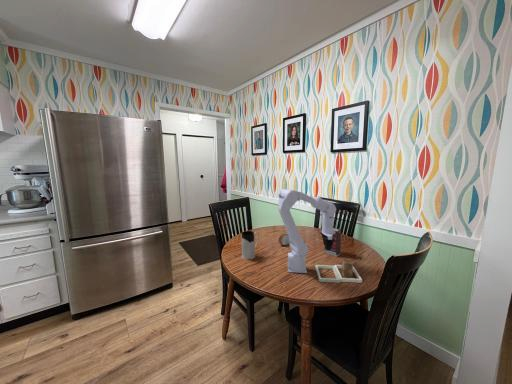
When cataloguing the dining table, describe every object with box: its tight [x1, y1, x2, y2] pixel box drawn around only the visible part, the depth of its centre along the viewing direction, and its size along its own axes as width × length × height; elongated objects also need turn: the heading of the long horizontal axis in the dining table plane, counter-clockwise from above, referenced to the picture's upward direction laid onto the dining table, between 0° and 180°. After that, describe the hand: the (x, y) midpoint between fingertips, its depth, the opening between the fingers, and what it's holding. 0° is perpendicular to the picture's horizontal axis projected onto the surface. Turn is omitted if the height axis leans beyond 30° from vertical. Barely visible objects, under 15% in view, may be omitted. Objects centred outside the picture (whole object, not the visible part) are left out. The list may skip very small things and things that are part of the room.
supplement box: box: [324, 227, 342, 257], centre depth 129 cm, size 9×5×16 cm, turn 40°
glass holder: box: [241, 230, 260, 260], centre depth 129 cm, size 9×14×15 cm, turn 137°
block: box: [341, 259, 354, 278], centre depth 105 cm, size 4×4×7 cm
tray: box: [333, 264, 363, 284], centre depth 105 cm, size 10×14×2 cm
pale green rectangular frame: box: [314, 264, 341, 284], centre depth 105 cm, size 10×14×2 cm
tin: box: [278, 232, 290, 246], centre depth 146 cm, size 15×3×8 cm, turn 120°
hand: (327, 247), depth 116 cm, fingers open, 7 cm apart
